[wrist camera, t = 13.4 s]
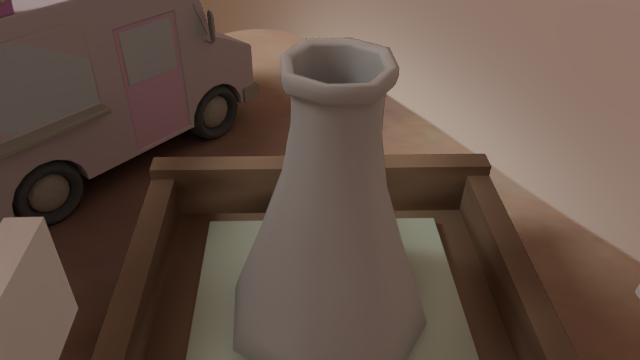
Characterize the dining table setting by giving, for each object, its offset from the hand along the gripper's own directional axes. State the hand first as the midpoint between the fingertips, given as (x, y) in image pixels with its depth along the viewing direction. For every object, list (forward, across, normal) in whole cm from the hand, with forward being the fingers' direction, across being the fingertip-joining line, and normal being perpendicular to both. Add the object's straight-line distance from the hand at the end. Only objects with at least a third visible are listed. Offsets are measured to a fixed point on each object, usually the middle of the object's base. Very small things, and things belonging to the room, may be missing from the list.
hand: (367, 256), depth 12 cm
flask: (+5, 0, -8) cm, 9 cm away
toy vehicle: (+20, -13, -11) cm, 27 cm away
